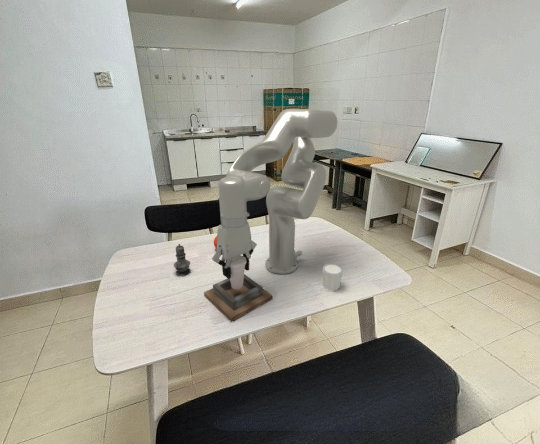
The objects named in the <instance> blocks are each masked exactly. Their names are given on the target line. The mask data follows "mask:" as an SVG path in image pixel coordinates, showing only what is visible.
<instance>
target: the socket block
mask: <svg viewBox="0 0 540 444" xmlns="http://www.w3.org/2000/svg"><path fill="white" fill-rule="evenodd" d="M203 296H204V297H205V298H206V299H207V300H208V301H209V302H210V303H211V304H212V305H213V306H214V307H215V308H217V310H218V311H219V312H220V313H222V314H223V315H224V317H225V318H227V320H229V321H230V322H231V323H232V321H233V322H234V321H236V320H238V319H240V318H241V317H243V316H245V315H247V314H249V313H251V312H252V311H254V310H256V309H258V308H260V307H261V306H263V305H265V304H267V303H269V302H270V301H272V300H273V298H274V297H273V296H274V295H273V294H272V293H270V292H269V291H267V289H265V288H264V287H263V286H262V285H261V284H259V283H257V282H256V281H255V280H253V279H252V278H251V277H249V276H248V275H246V274H245V273H244V281H243V287H242V288H241V289H233V288H232V287H231V282H230V279H228V278H227V277H226V279H224V280H221V281H219V282H216V283H214V284H212V288H210V289H208V290H206V291H204V292H203Z"/></svg>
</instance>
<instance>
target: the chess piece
mask: <svg viewBox="0 0 540 444" xmlns="http://www.w3.org/2000/svg"><path fill="white" fill-rule="evenodd" d="M175 253H176V254H175V257H176V262H174V263H173V267H174V268H175V275H176V276H178V277H184V276H187V275H189V274H190V273H191V269H190V264H191V261H190V260H187V259H186V252H185V248H184V245H181V244H180V243H179V244H178V245H176V247H175Z"/></svg>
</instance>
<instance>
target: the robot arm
mask: <svg viewBox="0 0 540 444" xmlns="http://www.w3.org/2000/svg"><path fill="white" fill-rule="evenodd" d="M337 127H338V117H337V115H336V114H335V112H334V111H331V110H320V109H319V110H318V109H311V108H286V109H283V110H282V111H281V112H280V113H279V114H278V115H277V117H276V119H275V120H274V122H273V123H272V125H271V127H270V128H269V129H268V131H267V132H266V134H265V136H264V137H263V138H262V140H261V141H259V142H258V143H256V144H254V145H253V146H251V147H250V148H248V149H246V150H245V151H244V152H243V153H241V154H240V155H239V156H237V158H236V159H235V160H234V162H233V164H231V166H230V167H229V169H228V172H227V173H226V175H225V177H223V178H222V177H221V179H219V181H218V199H219V200H218V202H219V212H220V213H219V214H220V216H219V217H220V224H219V225H218V227H217V232H216V233H217V234H216V236H217V248H216V252H215V253H214V255H213V256H212V257H211V260H212V261H214V263H216V264H218V265H220V266H222V270H221V271H222V275H223V276H224V277H226V279H227V278H228V279H230V278H231V271H230V267H229V263H230V260H231V259H232V258H234V257H237V256H239V255H242V256H244V257H245V258H246V264H245V271H246V272H247V271H249V270H250V259H251V257H252V256H251V255H253V253H254V250H255V248H256V247H257V245H258V244H257V242H255V241H253V240H252V233H251V227H250V225H249V222H248V217H250V212H249V211H247V202H249V201H257V200H261V199H263V198H265V197H266V199H265V204H266V208H267V213H268V228H269V229H268V234H269V236H268V237H269V239H268V244H269V245H268V247H269V249H268V250H269V255H268V258H267V259H266V260H265V266H264V267H265V268H266V270H267V271H269V272H271V273H273V274H275V275H276V274H277V275H288V274H291V273H293V272H295V271H296V270H297V269H298V266H299V263H298V261H297V258H298V257H300V256H302V255H303V252H302V250H301V249H299V250H297V251H296V250H295V240H296V239H295V237H296V222H295V219H298V220H307V219H309V218H310V217H311V216H312V215H313V213H314V211H315V209H316V206H317V205H318V202H319V199H320V196H321V195H322V192H323V190H324V188H325V186H326V185H325V184H326V180H327V170H326V168H325V166H324V165H323V164H321V163H317V162H313V161H314V158H315V154H316V149H315V146H314V143H313V141H312V139H320V138H321V139H322V138H330V137H331V136H333V135H334V133H335V132H336V130H337ZM291 146H292V149H291V151H290V154H289V156H288V158H287V161H286V162H285V165H284V167H283V169H282V173H281V175H280V176H281V177H280V178H281V181H282V182H283V184H285V186H282V185H280V186H279V185H277V186H272V188H271V181H270V179H269V178H268V176H266V175H264V174H261V173H257V172H253V170H254V169H256V168H258V167H260V166H262V165H266V164H269V163H274V162H277V161H279V160H282V159H283V158H284V157H286V155H287V153H288V151H289V150H290V148H291ZM286 185H287V186H286ZM288 186H289V187H288ZM292 187H293V188H292ZM297 188H298V189H297ZM301 189H302V190H301ZM294 218H295V219H294ZM220 258H221V259H220Z"/></svg>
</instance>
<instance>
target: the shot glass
mask: <svg viewBox="0 0 540 444" xmlns="http://www.w3.org/2000/svg"><path fill="white" fill-rule="evenodd" d="M343 272H344V269H343V268H342V266H340V265H338V264H335V263H326V264H324V265H323V266H322V286H324V287H323V288H324V289H325V288H326V289H328V290H327V291H329V290H336V289H338V288H339V289H340V288H341V287H340V286H341V283H342V277H343V274H344V273H343ZM326 289H325V290H326ZM339 289H338V290H339ZM336 291H337V290H336Z"/></svg>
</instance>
